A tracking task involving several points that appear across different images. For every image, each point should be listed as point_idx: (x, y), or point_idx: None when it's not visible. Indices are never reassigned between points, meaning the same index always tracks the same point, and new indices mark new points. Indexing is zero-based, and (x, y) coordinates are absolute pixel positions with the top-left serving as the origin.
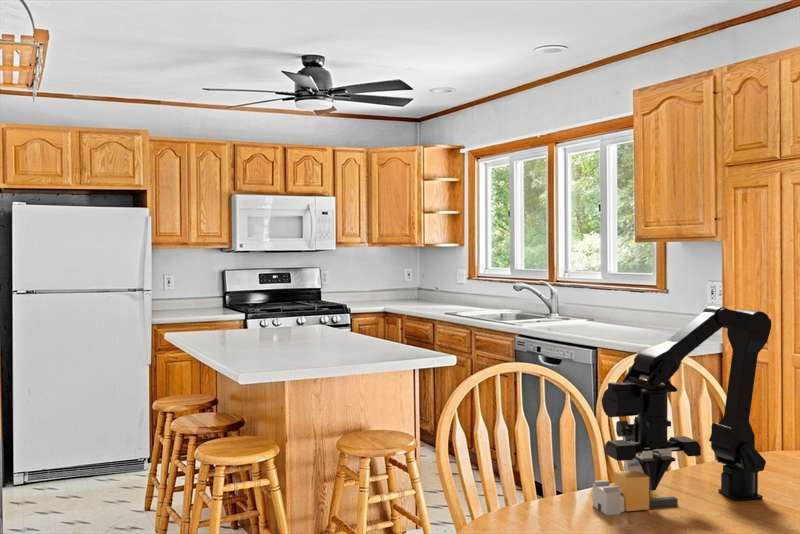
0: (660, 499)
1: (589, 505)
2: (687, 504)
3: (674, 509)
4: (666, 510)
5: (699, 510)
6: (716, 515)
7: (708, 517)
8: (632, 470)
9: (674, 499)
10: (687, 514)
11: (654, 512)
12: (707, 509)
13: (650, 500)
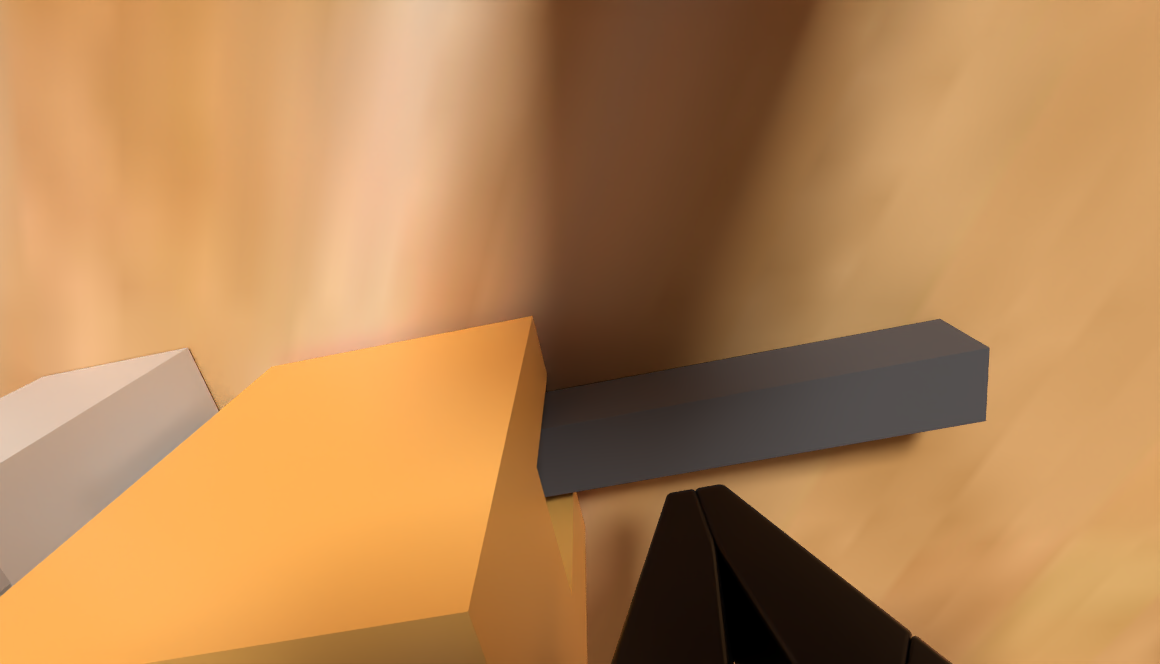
0: (769, 445)
1: (9, 360)
2: (1063, 353)
3: (842, 483)
4: (753, 504)
5: (1058, 510)
6: (1113, 614)
7: (1014, 649)
8: (338, 638)
9: (940, 422)
10: (886, 591)
11: (620, 546)
12: (1153, 488)
13: (640, 473)
